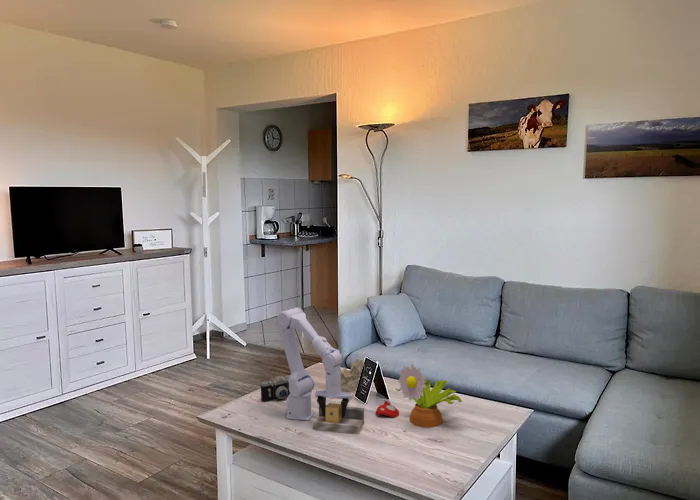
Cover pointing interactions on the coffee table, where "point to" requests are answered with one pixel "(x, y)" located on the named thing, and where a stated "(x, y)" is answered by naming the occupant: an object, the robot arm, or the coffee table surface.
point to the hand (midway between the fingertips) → (333, 415)
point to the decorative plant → (424, 397)
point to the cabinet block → (333, 413)
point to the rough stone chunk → (351, 376)
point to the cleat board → (342, 421)
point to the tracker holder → (387, 409)
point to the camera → (275, 389)
